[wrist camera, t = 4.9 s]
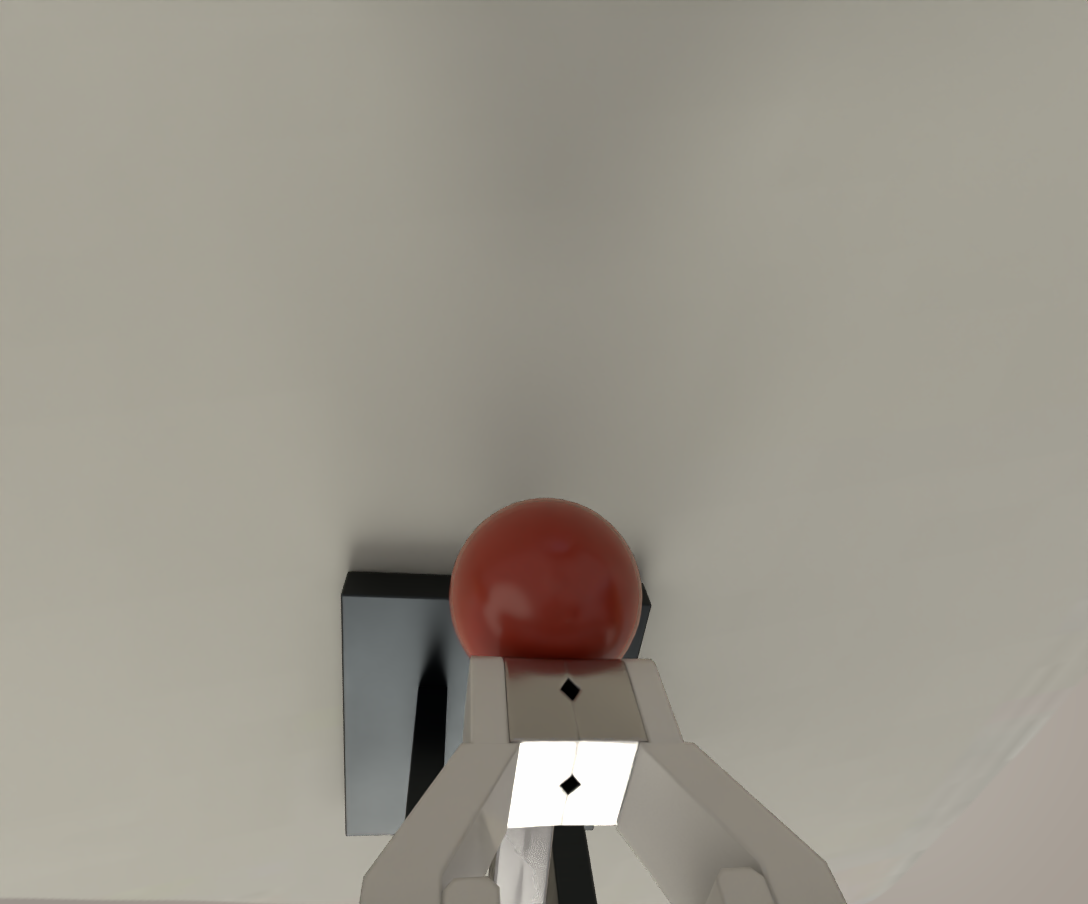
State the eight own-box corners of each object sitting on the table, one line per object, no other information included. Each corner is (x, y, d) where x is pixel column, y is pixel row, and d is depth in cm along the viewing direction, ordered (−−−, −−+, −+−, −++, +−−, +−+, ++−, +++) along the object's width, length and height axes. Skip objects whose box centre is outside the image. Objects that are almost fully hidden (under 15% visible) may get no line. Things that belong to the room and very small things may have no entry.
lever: (456, 474, 13) (455, 524, 9) (623, 485, 13) (683, 536, 10) (413, 1073, 15) (399, 1292, 12) (556, 1061, 16) (584, 1268, 12)
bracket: (347, 570, 20) (179, 1139, 9) (643, 582, 21) (837, 1078, 10) (350, 807, 25) (249, 1357, 14) (588, 803, 27) (675, 1295, 15)
